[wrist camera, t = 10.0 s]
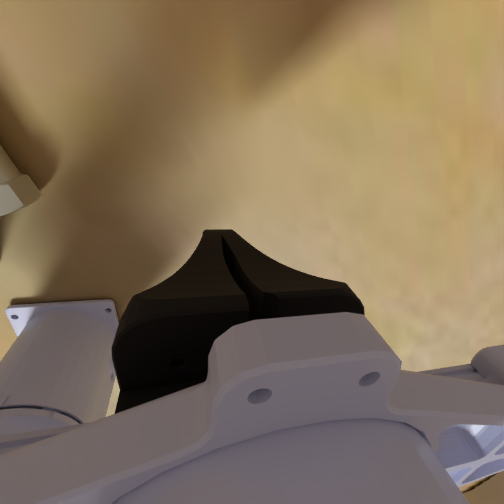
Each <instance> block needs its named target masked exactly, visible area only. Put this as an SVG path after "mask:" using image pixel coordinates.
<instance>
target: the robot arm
mask: <svg viewBox="0 0 504 504" xmlns="http://www.w3.org/2000/svg"><path fill="white" fill-rule="evenodd" d="M107 308H109V309H111V310H108V309H107ZM5 312H6V314H7V316H8V318H9V320H10V322H11V325H12V327H13V329H14V331H15V333H16V335H17V339H16V340H15V342H14V343H13V344H12V346H11V347H10V349H9V350H8V352H7V353H6V354H5V356H4V357H3V359H2V360H1V362H0V504H469V503H468V501H467V500H466V498H465V497H464V495H463V494H462V492H461V491H460V489H459V487H461V486H464V485H466V484H469V483H471V482H474V481H477V480H479V479H482V478H484V477H487V476H490V475H492V474H495V473H498V472H500V471H503V470H504V345H498V346H491V347H486V348H483V349H482V350H480V351H479V352H478V353H477V354H476V355H475V356H474V357H473V359H472V360H471V364H465V365H459V366H453V367H446V368H440V369H433V370H427V371H420V372H412V371H405V370H400V369H401V364H402V361H401V360H400V359H399V358H398V356H397V355H396V354H395V353H394V351H393V350H392V349H391V348H390V346H389V345H388V344H387V343H386V341H385V340H384V339H383V338H382V336H381V335H380V334H379V333H378V332H377V330H376V329H375V328H374V327H373V325H372V324H371V323H370V322H369V321H368V319H367V318H366V317H365V316H364V306H363V304H362V303H361V301H360V299H359V298H358V297H357V296H356V295H355V293H354V292H353V291H352V290H351V289H350V288H349V286H348V285H347V284H346V283H343V282H338V281H333V280H329V279H324V278H320V277H316V276H313V275H309V274H306V273H303V272H300V271H297V270H295V269H292V268H290V267H287V266H285V265H283V264H281V263H279V262H277V261H275V260H273V259H271V258H270V257H268V256H266V255H265V254H263V253H262V252H260V251H259V250H257V249H256V248H254V247H253V246H252V245H250V244H249V243H248V242H247V241H245V240H244V239H243V238H242V237H241V236H239V235H238V234H237V233H236V232H235V231H233V230H204V231H203V235H202V238H201V241H200V243H199V244H198V246H197V248H196V250H195V251H194V253H193V254H192V255H191V257H190V258H189V259H188V261H187V262H186V263H185V264H184V265H183V266H182V267H181V268H180V269H179V270H178V271H177V272H176V273H174V274H173V275H172V276H171V277H169V278H168V279H166V280H165V281H163V282H161V283H159V284H158V285H156V286H154V287H152V288H150V289H148V290H145V291H143V292H141V293H139V294H136V295H134V296H133V297H132V299H131V301H130V302H129V304H128V306H127V308H126V310H125V312H124V314H123V316H122V318H121V320H120V322H118V317H117V313H116V308H115V304H114V302H113V301H112V300H110V299H103V300H86V301H70V302H53V303H36V304H20V305H10V306H8V307H7V309H6V310H5ZM16 315H17V316H16ZM116 376H117V380H118V384H119V388H120V393H119V397H118V402H117V406H116V410H115V414H113V415H111V416H108V417H105V416H106V413H107V409H108V405H109V401H110V397H111V393H112V389H113V385H114V381H115V377H116Z"/></svg>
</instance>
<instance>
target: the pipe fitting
mask: <svg viewBox="0 0 504 504" xmlns="http://www.w3.org/2000/svg"><path fill="white" fill-rule="evenodd" d="M40 196H41V193H40V191H39V190H38V188H37V187H36V185H35V184H34V182H33V181H32V180H31V178H30V177H29V175H26V174H21V173H20V172H19V170H18V169H17V168H16V166H15V165H14V163H13V162H12V161H11V159H10V158H9V156H8V155H7V154H6V152H5V151H4V149H3V148H2V146H1V145H0V216H3V215H6V214H9V213H12V212H14V211H17V210H19V209H21V208H24V207H26V206H28V205H30V204H32V203H33V202H35V201H36V200H38V199H39V197H40Z"/></svg>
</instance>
